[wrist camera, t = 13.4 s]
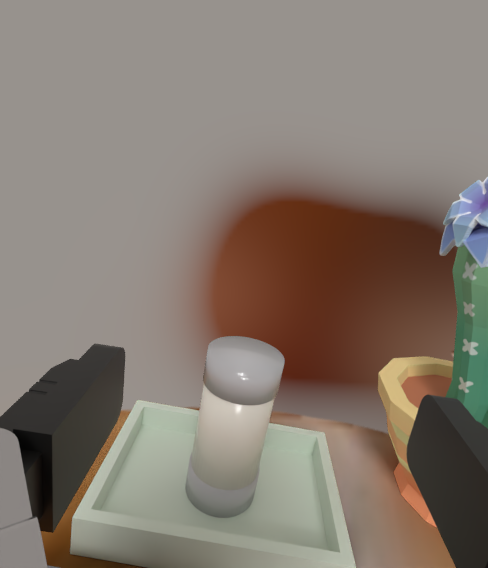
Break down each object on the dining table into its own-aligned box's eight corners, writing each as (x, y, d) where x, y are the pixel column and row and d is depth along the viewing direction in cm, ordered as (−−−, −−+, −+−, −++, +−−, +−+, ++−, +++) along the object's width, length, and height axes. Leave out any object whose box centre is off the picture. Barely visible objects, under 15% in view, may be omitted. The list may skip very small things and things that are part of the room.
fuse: (255, 469, 28) (283, 344, 25) (252, 524, 24) (285, 379, 21) (192, 457, 28) (214, 330, 26) (178, 509, 24) (201, 363, 21)
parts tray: (317, 458, 32) (324, 432, 31) (344, 602, 21) (356, 567, 20) (134, 426, 32) (137, 399, 31) (70, 554, 21) (72, 517, 20)
